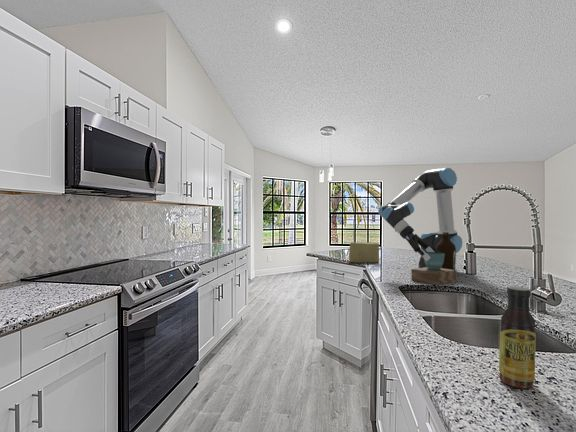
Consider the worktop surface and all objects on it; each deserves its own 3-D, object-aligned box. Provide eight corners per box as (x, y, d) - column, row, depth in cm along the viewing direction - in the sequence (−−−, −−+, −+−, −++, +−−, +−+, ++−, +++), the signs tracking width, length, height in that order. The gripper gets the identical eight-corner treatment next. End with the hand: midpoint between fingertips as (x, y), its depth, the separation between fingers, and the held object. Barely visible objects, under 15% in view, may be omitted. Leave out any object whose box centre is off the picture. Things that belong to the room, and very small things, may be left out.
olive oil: (436, 276, 198) (435, 232, 198) (436, 273, 207) (435, 231, 207) (456, 277, 193) (456, 232, 193) (456, 274, 203) (455, 232, 203)
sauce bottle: (502, 387, 70) (501, 289, 70) (496, 374, 76) (494, 284, 76) (541, 393, 68) (539, 292, 68) (531, 379, 74) (530, 285, 74)
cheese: (349, 262, 261) (348, 242, 261) (349, 261, 271) (349, 242, 271) (379, 263, 257) (379, 243, 257) (378, 261, 266) (378, 242, 266)
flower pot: (439, 268, 189) (439, 251, 189) (445, 270, 180) (445, 253, 180) (423, 268, 190) (422, 251, 190) (427, 270, 181) (427, 253, 181)
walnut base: (430, 277, 196) (430, 266, 196) (456, 281, 182) (456, 270, 182) (411, 280, 187) (411, 269, 187) (438, 285, 174) (437, 273, 174)
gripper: (407, 233, 206) (433, 260, 196) (391, 235, 186) (420, 265, 177) (416, 224, 202) (443, 251, 193) (400, 225, 183) (430, 255, 173)
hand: (432, 258), depth 185 cm, fingers open, 13 cm apart
